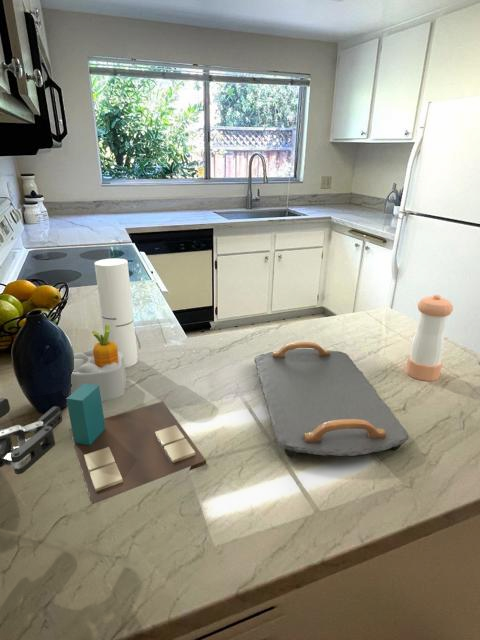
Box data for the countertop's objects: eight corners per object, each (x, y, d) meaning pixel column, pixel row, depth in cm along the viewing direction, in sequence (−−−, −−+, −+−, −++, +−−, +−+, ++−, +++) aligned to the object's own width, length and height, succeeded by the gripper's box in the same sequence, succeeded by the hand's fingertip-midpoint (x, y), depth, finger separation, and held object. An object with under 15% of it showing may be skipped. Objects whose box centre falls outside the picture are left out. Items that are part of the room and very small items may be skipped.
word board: (92, 508, 57) (90, 500, 57) (69, 432, 73) (68, 425, 73) (206, 463, 66) (206, 457, 65) (163, 404, 82) (162, 398, 81)
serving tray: (251, 360, 100) (251, 337, 97) (342, 356, 102) (344, 334, 99) (280, 472, 64) (282, 440, 62) (419, 463, 66) (426, 431, 64)
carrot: (103, 400, 83) (93, 333, 77) (95, 390, 86) (86, 325, 81) (126, 393, 85) (118, 328, 80) (118, 383, 89) (110, 320, 84)
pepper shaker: (400, 373, 94) (413, 295, 87) (413, 362, 99) (426, 288, 92) (432, 384, 89) (448, 302, 82) (444, 373, 94) (460, 295, 87)
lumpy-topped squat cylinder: (123, 402, 82) (119, 364, 79) (56, 408, 80) (49, 370, 77) (127, 377, 92) (123, 342, 89) (67, 382, 90) (61, 347, 87)
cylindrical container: (113, 354, 103) (101, 258, 94) (141, 355, 102) (131, 258, 93) (103, 368, 96) (89, 265, 87) (133, 368, 96) (121, 266, 87)
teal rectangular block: (74, 443, 69) (66, 398, 66) (90, 425, 74) (83, 383, 70) (89, 445, 69) (82, 400, 65) (105, 428, 73) (99, 385, 70)
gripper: (-31, 476, 39) (73, 390, 53) (-143, 453, 42) (-16, 378, 56) (-13, 534, 41) (81, 437, 56) (-120, 508, 44) (-4, 423, 59)
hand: (32, 407), depth 56 cm, fingers open, 8 cm apart
